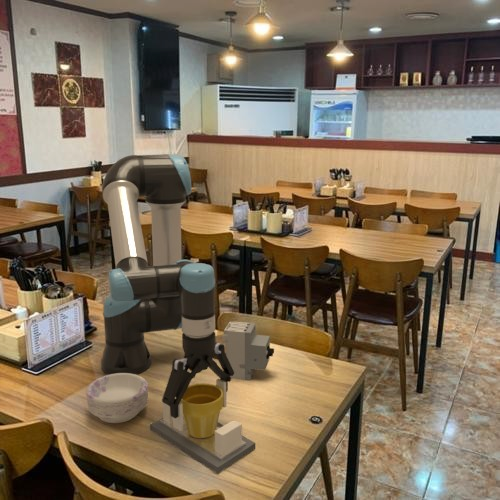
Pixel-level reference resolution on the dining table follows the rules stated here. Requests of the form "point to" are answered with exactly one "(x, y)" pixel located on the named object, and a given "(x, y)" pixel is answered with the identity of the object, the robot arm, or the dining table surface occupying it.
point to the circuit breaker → (246, 349)
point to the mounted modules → (218, 433)
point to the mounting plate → (198, 452)
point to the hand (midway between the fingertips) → (200, 416)
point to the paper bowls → (117, 397)
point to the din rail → (201, 440)
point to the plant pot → (202, 409)
